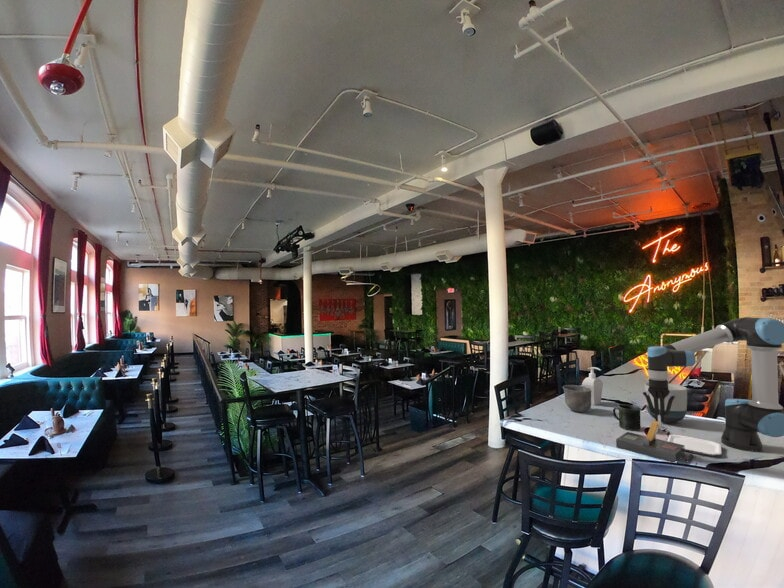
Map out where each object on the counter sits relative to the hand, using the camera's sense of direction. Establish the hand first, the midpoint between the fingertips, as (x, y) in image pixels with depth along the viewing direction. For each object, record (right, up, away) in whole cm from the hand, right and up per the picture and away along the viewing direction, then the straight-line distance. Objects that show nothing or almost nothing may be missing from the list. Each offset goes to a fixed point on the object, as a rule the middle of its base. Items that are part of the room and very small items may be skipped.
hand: (660, 428), depth 176 cm
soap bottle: (+15, -14, +85) cm, 87 cm away
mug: (+7, -13, +37) cm, 39 cm away
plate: (+22, -13, +7) cm, 26 cm away
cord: (+9, -12, -7) cm, 16 cm away
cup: (-5, -14, +70) cm, 71 cm away
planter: (+37, -13, +46) cm, 61 cm away
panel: (-3, -12, +3) cm, 13 cm away
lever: (-3, -7, +4) cm, 8 cm away
